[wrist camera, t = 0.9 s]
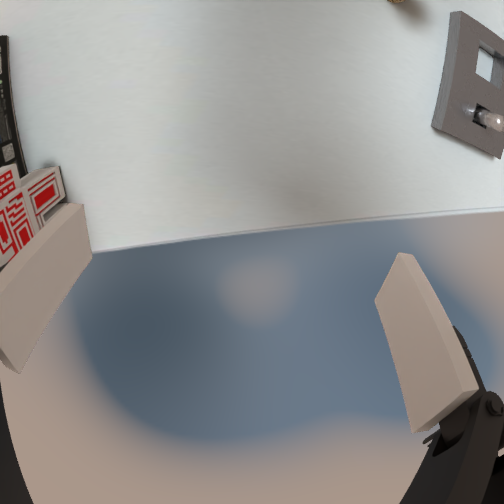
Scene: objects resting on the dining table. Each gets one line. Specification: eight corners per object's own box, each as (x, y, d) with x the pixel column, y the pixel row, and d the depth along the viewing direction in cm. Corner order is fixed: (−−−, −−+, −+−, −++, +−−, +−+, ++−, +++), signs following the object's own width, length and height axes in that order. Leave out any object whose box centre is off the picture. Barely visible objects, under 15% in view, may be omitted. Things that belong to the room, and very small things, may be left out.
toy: (84, 251, 50) (2, 375, 25) (57, 249, 50) (-24, 361, 26) (57, 138, 37) (-85, 232, 13) (29, 144, 38) (-98, 233, 13)
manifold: (450, 12, 23) (481, 7, 16) (510, 53, 23) (541, 58, 16) (430, 125, 34) (459, 139, 27) (490, 153, 34) (518, 170, 28)
